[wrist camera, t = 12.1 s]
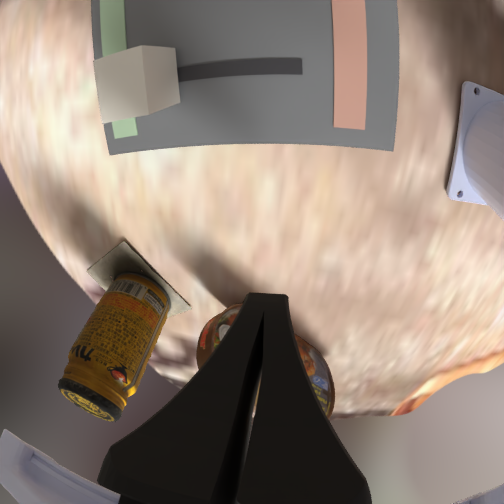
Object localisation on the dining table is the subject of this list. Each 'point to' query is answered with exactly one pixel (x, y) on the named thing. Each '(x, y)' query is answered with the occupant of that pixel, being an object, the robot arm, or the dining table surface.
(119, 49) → the grey board
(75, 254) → the dining table surface
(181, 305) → the condiment
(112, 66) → the handle
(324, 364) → the tin
